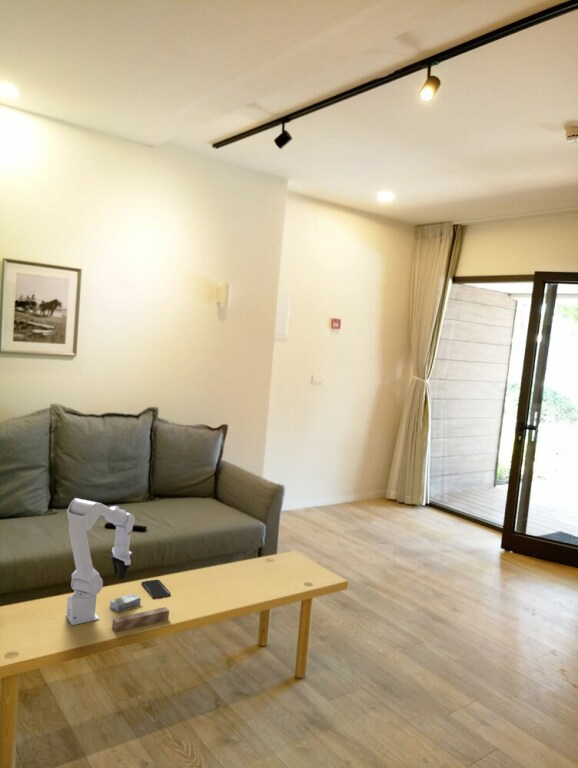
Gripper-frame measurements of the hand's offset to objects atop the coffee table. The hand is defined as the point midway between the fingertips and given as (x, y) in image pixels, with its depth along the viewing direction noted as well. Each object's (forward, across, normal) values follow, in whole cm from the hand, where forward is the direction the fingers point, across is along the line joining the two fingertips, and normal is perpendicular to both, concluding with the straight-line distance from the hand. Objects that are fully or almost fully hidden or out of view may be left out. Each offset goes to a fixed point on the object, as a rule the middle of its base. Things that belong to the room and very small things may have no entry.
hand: (119, 576), depth 217 cm
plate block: (+9, -8, 0) cm, 12 cm away
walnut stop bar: (+8, -23, 0) cm, 24 cm away
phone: (+9, 0, -16) cm, 18 cm away
